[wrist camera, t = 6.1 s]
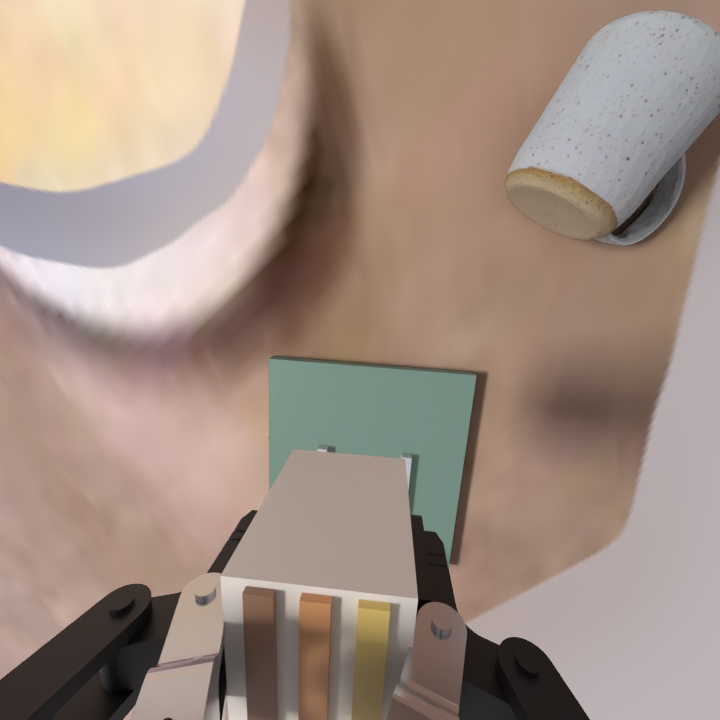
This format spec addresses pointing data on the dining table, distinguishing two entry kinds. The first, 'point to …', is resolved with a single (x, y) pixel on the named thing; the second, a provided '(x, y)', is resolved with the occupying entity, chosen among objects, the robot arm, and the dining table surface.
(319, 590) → the plug block
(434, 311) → the dining table surface
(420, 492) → the header board
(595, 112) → the ceramic mug
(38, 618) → the dining table surface
